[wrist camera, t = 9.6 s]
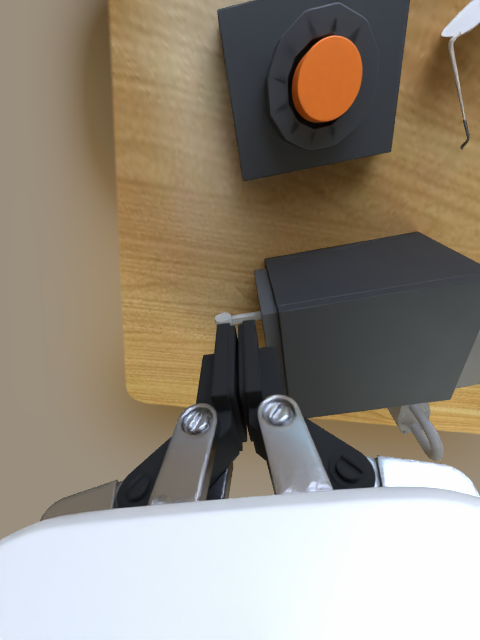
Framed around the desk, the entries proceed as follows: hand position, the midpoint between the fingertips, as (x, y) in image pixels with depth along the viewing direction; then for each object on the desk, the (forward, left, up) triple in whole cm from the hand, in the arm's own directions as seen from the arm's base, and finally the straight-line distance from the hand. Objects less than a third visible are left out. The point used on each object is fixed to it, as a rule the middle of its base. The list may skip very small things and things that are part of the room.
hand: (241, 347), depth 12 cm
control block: (-4, +11, -16) cm, 20 cm away
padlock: (+31, +3, -16) cm, 35 cm away
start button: (-4, +11, -12) cm, 17 cm away
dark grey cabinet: (+13, +4, -16) cm, 20 cm away
